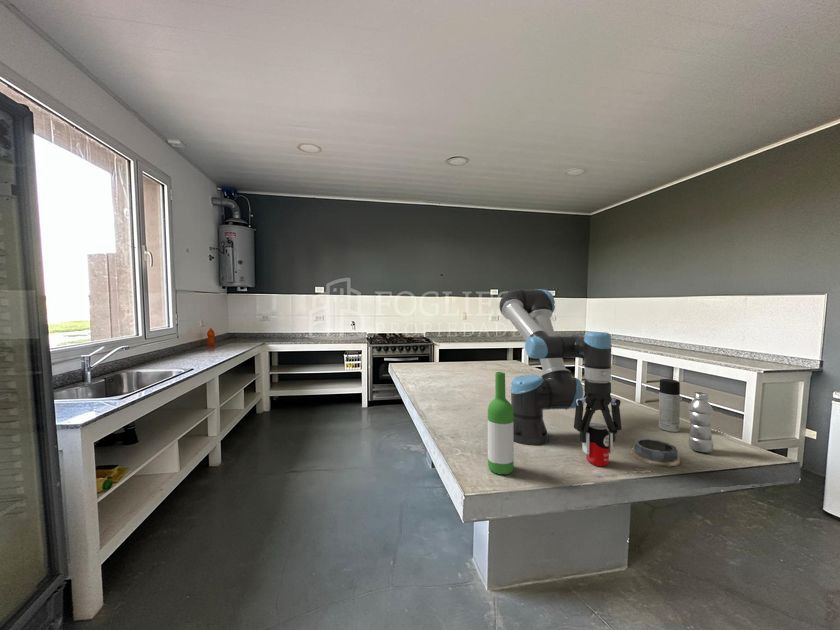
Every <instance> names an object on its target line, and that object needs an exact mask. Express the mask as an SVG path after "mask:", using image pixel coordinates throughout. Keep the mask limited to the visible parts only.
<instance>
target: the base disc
mask: <svg viewBox="0 0 840 630" xmlns="http://www.w3.org/2000/svg"><path fill="white" fill-rule="evenodd" d="M651 450H654V449H651ZM656 451H659V450H656ZM631 455H632V456H633V457H634V458H635V459H636V460H638V461H641V462H643V463H646V464H650V465H653V466H658V467H663V466H664V467H665V468H672V467H671V466H675V467H678V466H679V465H680V464H681V458H680V457H679V456H678V460H677V461H675V462H667V463H663V462H658V461H652V460H649V459H646V458H643V457H641V456H639V455H638V454H636V453H635V451H634V447H632V448H631ZM677 465H678V466H677ZM664 467H663V468H664Z"/></svg>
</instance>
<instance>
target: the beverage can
mask: <svg viewBox="0 0 840 630" xmlns="http://www.w3.org/2000/svg"><path fill="white" fill-rule="evenodd" d="M608 431H609V430H608V428H607V425H606V424H602V423H598V422H590V424H589V427H588V430H587V432H588V433H589V454H586V453H585V454H586V455H585V456H586V457H585V458H586V461H588V462H589V463H590V465H593V466H596V467H605V466H607V465H608V464H609V463H610V453H609V432H608Z"/></svg>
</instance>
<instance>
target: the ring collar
mask: <svg viewBox="0 0 840 630" xmlns="http://www.w3.org/2000/svg"><path fill="white" fill-rule="evenodd" d="M633 448H634V451H635V453H636V454H638V455H639V456H641V457H643V458H646V459H649V460H652V461H658V462H663V463H667V462H675V461H677V460H678V457H679V456H678V451H679V450H678V449H677V447H676V446H675V445H673V444H671V443H668V442H665V441H663V440H659V439H653V438H652V439H651V438H637V439H635V440H633ZM651 449H654V450H651ZM656 450H659V451H656Z"/></svg>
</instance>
